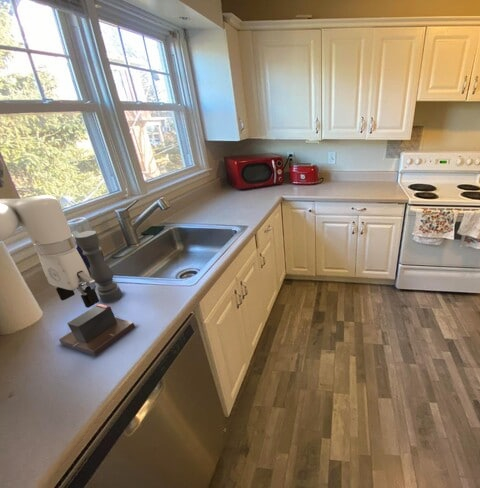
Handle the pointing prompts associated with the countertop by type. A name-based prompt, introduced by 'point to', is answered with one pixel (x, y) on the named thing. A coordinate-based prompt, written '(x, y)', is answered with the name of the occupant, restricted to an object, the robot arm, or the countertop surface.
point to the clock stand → (99, 338)
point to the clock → (92, 323)
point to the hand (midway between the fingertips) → (80, 301)
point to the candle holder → (98, 266)
